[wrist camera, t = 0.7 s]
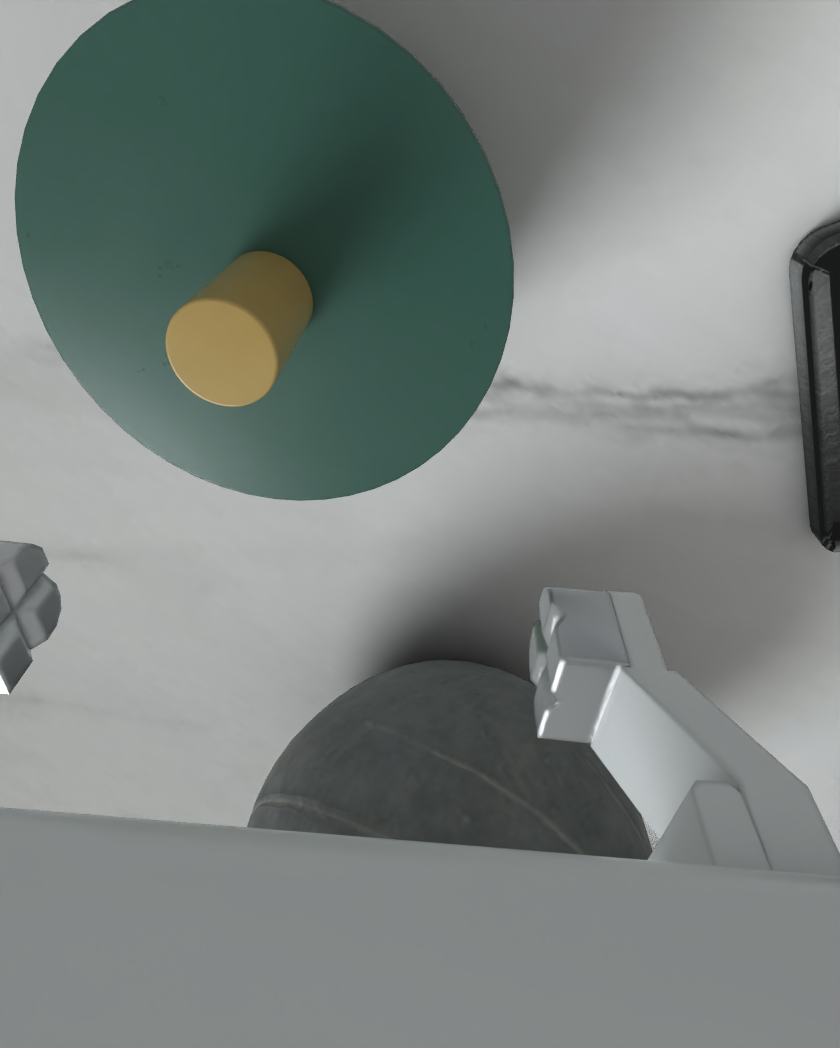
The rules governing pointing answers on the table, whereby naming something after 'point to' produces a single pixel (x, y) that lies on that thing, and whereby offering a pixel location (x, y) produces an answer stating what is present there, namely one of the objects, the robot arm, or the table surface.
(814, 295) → the phone
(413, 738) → the bowl
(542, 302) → the table surface
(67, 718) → the table surface
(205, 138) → the tin lid
